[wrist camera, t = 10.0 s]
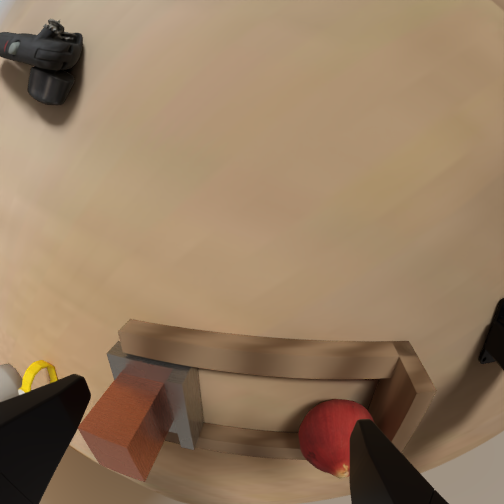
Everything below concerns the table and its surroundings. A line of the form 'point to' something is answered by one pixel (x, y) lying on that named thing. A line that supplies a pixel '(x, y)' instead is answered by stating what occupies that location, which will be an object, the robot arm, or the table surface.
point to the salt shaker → (9, 382)
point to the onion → (330, 435)
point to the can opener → (45, 59)
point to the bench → (292, 366)
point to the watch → (31, 373)
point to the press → (142, 412)
